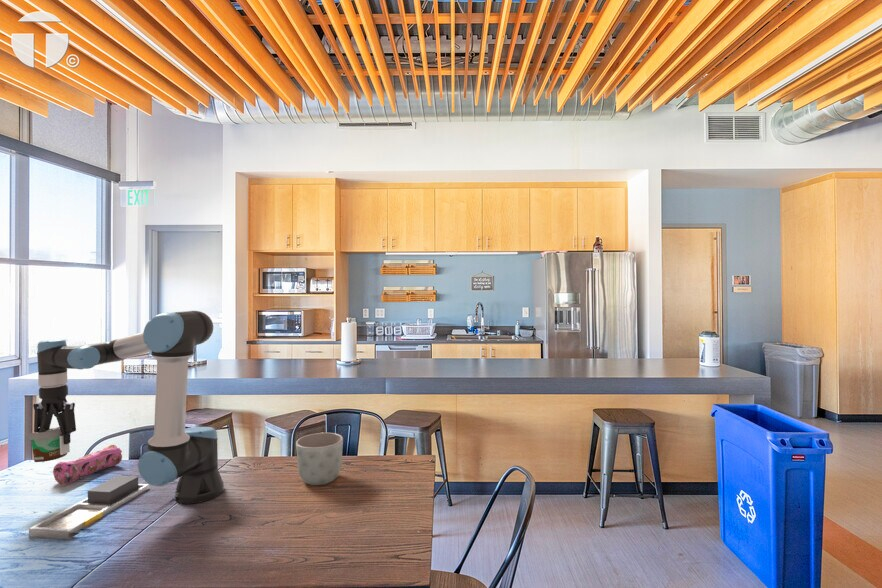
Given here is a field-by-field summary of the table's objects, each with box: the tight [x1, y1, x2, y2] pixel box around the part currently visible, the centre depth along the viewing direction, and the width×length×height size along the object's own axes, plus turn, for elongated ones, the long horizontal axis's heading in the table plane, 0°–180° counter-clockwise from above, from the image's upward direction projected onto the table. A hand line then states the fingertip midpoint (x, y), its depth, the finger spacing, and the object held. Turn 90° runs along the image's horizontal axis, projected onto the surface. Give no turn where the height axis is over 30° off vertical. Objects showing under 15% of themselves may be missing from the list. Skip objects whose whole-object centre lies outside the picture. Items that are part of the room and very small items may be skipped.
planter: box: [295, 432, 344, 486], centre depth 171 cm, size 17×17×15 cm
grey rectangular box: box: [87, 475, 139, 504], centre depth 157 cm, size 8×12×5 cm, turn 173°
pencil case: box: [52, 444, 123, 486], centre depth 179 cm, size 21×9×9 cm, turn 161°
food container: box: [28, 426, 68, 463], centre depth 157 cm, size 12×6×10 cm, turn 168°
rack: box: [28, 483, 150, 540], centre depth 149 cm, size 14×31×3 cm, turn 173°
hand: (55, 452), depth 157 cm, fingers closed on food container, 6 cm apart
